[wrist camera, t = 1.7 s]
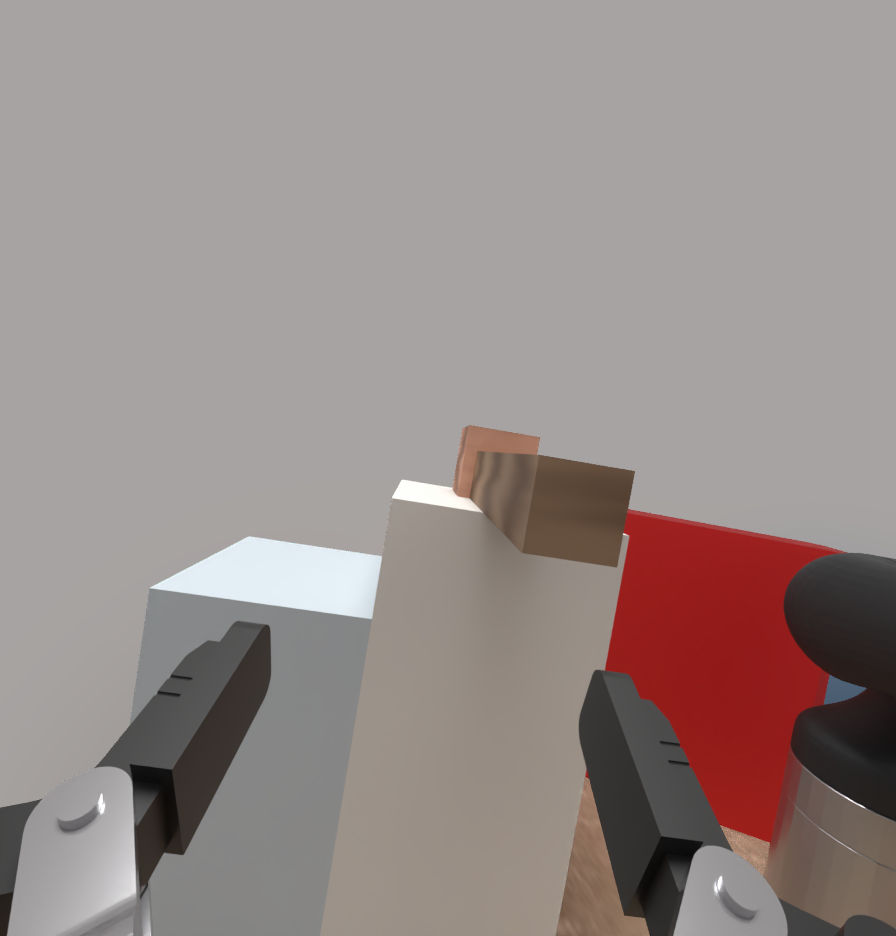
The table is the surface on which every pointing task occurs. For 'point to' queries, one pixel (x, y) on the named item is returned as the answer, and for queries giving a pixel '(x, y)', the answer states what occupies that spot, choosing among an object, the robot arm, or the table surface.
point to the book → (718, 654)
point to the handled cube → (544, 496)
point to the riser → (390, 731)
